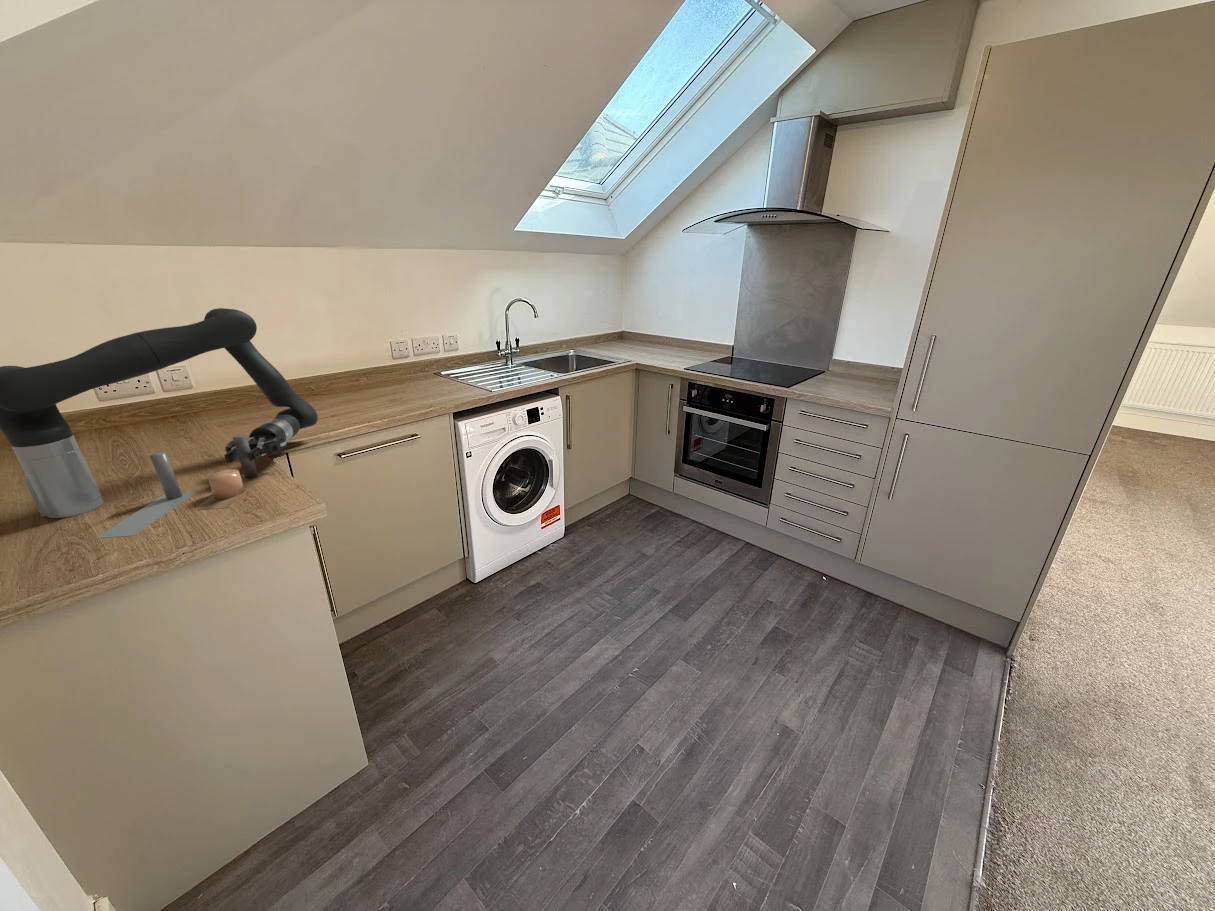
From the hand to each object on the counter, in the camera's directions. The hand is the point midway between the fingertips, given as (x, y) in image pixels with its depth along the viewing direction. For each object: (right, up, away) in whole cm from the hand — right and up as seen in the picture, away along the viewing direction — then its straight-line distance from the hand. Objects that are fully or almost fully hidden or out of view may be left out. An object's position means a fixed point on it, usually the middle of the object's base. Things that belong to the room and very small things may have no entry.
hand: (238, 457), depth 120 cm
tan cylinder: (+1, -9, -4) cm, 10 cm away
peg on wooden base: (+1, -9, -2) cm, 9 cm away
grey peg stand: (-10, -13, -13) cm, 21 cm away
